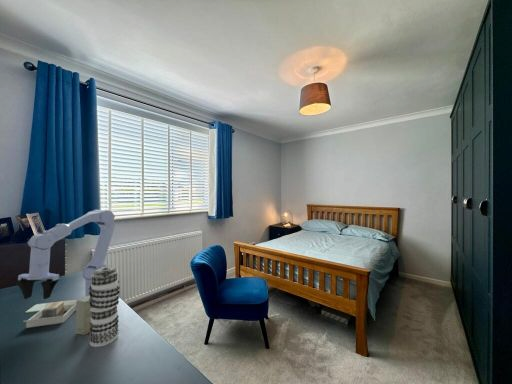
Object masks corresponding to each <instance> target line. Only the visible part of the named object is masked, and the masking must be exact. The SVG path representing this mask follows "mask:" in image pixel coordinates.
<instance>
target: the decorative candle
mask: <svg viewBox="0 0 512 384" xmlns="http://www.w3.org/2000/svg"><path fill="white" fill-rule="evenodd" d="M118 273H119V270H118V269H116V267H114V266H107V267H103V268H99V269H97V270H96V271H95V273H93V274H92V275H91V276H92V284H91V286H90V288H89V290H90V292H89V294H90V298H89V300H90V303H89V304H90V306H91V308H90V310H91V311H92V317H91V323H90V332H89V334H88V335H89V338H88V340H89V345H90V346H91V347H93V348H96V347H97V348H99V347H100V348H101V347H104V346H106V345H108V344H111V343H113V342H114V341H115V340H116V339H117V338H118V337H119V317H120V316H119V315H118V313H119V312H118V305H119V302H120V301H119V299H120V296H119V294H120V288H121V287H120V286H119V285H118V284H119V283H120V280H119V278H118ZM91 288H92V289H91ZM91 292H92V293H91Z"/></svg>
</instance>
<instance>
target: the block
mask: <svg viewBox="0 0 512 384" xmlns="http://www.w3.org/2000/svg"><path fill="white" fill-rule="evenodd" d="M62 301H63V302H60V301H55V302H54V303H52V302H51V303H52V304H50V305H49V306H48V307H47V308H45V309H44V310H43V311H42V316H41V318H48V317H56V316H63V315H64V314H65V313H64V312H65V311H64V301H65V300H62Z"/></svg>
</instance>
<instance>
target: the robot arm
mask: <svg viewBox="0 0 512 384" xmlns="http://www.w3.org/2000/svg"><path fill="white" fill-rule="evenodd" d="M115 217H116V215H115V214H114V212H113V211H111V210H109V209H93V210H91V211H87V213H85V214H84V215H82V216H80V217H78V218H76V219H74V220H72V221H71V222H68V223H57V224H55V226H54V227H52V228H50V229H48V230H43V231H42V233H36V234H34V235H32V236H31V238H30V239H29V240H28V241H27V245H28V246H29V247H30V256H29V257H30V258H29V268H28V269H29V270H28V273H21V274H19V275H18V277H17V282H16V285H17V286H18V287H19V288H20V290H21V292H22V295H23V298H24V300H27V299H29V298H31V297H32V294H33V288H34V284H35V282H36V281H42V282H41V283H40V284H41V286H42V290H43V291H42V293H43V294H42V295H43V296H42V297H43V299H44V300H47V299H49V298H51V296H52V292H53V290H54V288H55V286H56V285H57V283H58V282H59V280H60V274H59V273H57V274H56V273H52V272H50V263H51V262H50V261H51V260H50V259H51V247H53V246H54V244H55V243H57V241H60V240H61V239H63V238H65V237H68V236H69V235H71V234H72V232H73V231H74V230H76V229H78V228H81V227H83V226H84V225H86V224H89V223H92V222H93V223H95V224H96V225H98V227H99V228H100V233H99V236H98V239H97V242H96V246H95V249H94V252H93V255H92V258H91V260H90V261H89V262H87V265H86V266H85V268H84V269H83V270H82V274H81V275H82V278H83V279H84V281H85V284H84V285H85V286H84V287H85V288H84V289H85V292H84V293H85V296H84V297H86V296H88V295H90V294H89V292H90V290H89V288H90V286H91V284H92V276H91V275H92V274H93V273H95V271H96V270H97V269H99V268H103V267H108V265H107V262H106V258H107V254H108V251H109V247H110V245H111V241H112V237H113V234H114V231H115V219H116V218H115ZM91 289H92V288H91ZM91 293H92V292H91Z"/></svg>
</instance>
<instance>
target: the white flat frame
mask: <svg viewBox="0 0 512 384" xmlns="http://www.w3.org/2000/svg"><path fill="white" fill-rule="evenodd" d="M79 299H80V298H79ZM79 299H71V300H62V301H59V302H63V301H64V312H65V313H63V314H62V315H61V316H56V317H48V318H42V311H43V310H44V309H45V308H47V307H48V306H49V305H50V304H52V303H54V302H53V301H52V302H46V303H47V304H46V305H45V307H44V308H43V309H42V310H40V311H38V312H36V313H35V314H34V315H33V316H31V317H29V319H28V320H27V319H25V320H22V322H23V323H25V324H26V325H25V326H26V327H25V328H26V329H28V328H35V327H40V326H41V327H42V326H49V325H56V324H63V323H64V322H66V320H67V319H69V318H70V317H71V315H73V313H74V312H76V301H77V300H79Z"/></svg>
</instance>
